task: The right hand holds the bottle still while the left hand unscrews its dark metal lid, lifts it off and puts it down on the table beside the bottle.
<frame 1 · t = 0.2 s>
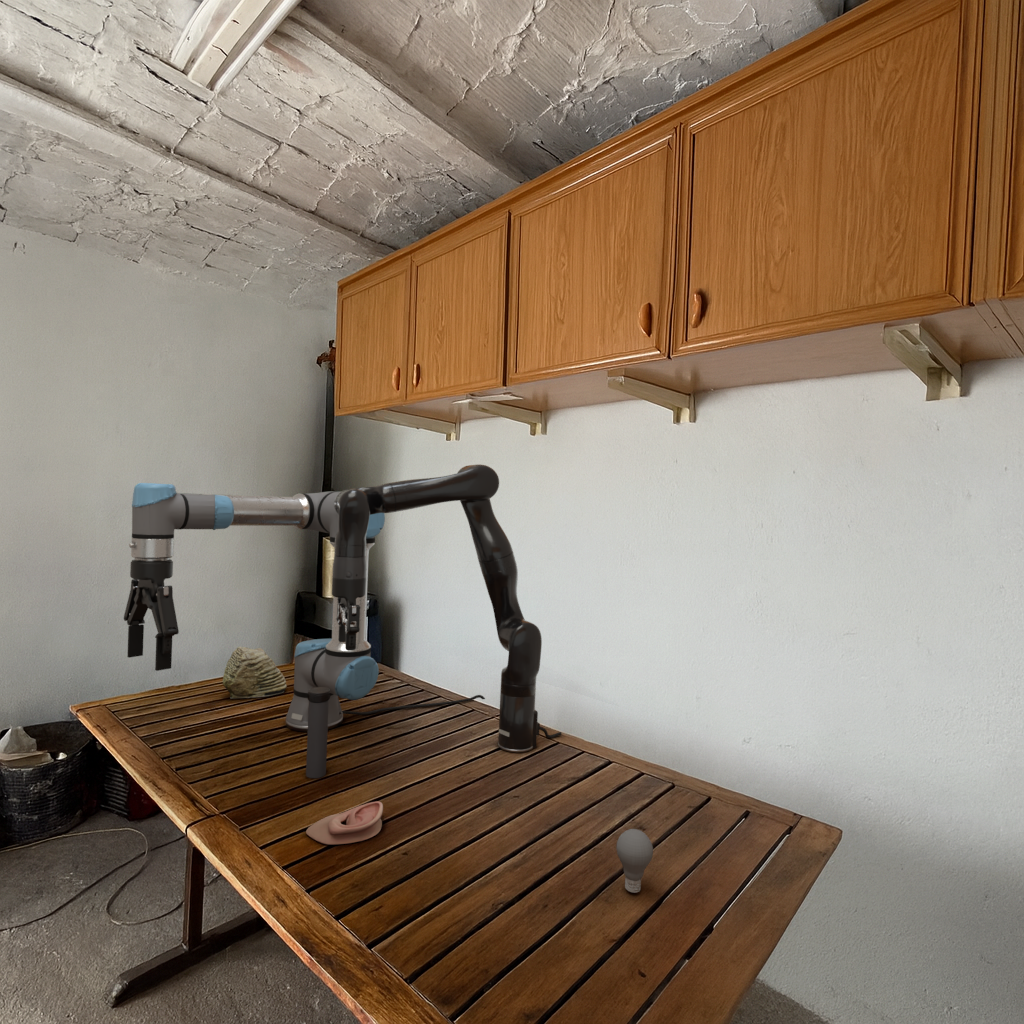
left hand: (148, 662, 129), 28 cm above the table, tool pointing down, fingers open, 13 cm apart
right hand: (346, 645, 146), 29 cm above the table, tool pointing down, fingers open, 8 cm apart
anatomical model: (344, 830, 121), on the table
bottle: (315, 774, 144), on the table
lid: (319, 691, 144), point 19 cm above the table, screwed on, not yet turned
fossil: (254, 694, 198), on the table
light bulb: (632, 891, 106), on the table
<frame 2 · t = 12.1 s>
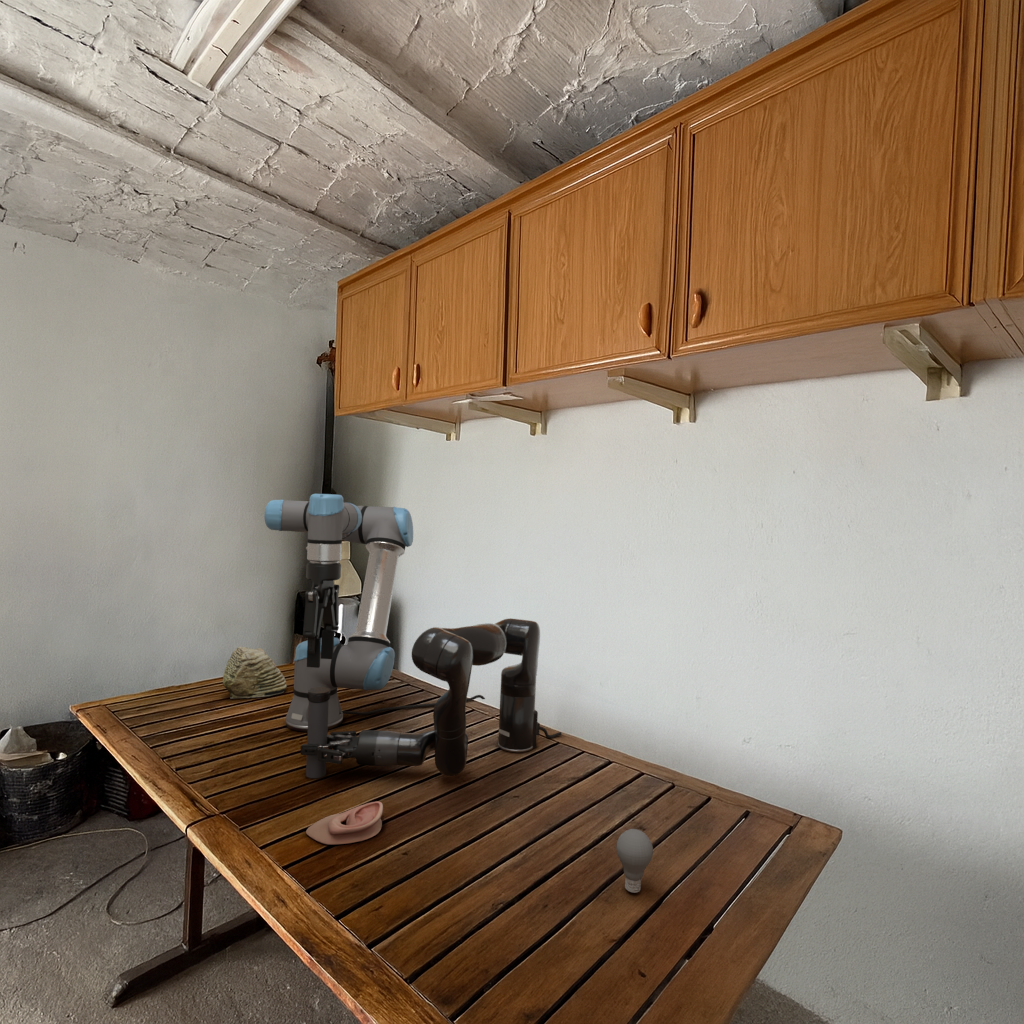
left hand: (320, 662, 144), 26 cm above the table, tool pointing down, fingers open, 7 cm apart
right hand: (305, 745, 144), 7 cm above the table, tool horizontal, fingers closed on bottle, 4 cm apart
bottle: (315, 774, 144), on the table, touching right hand
everything else where it was.
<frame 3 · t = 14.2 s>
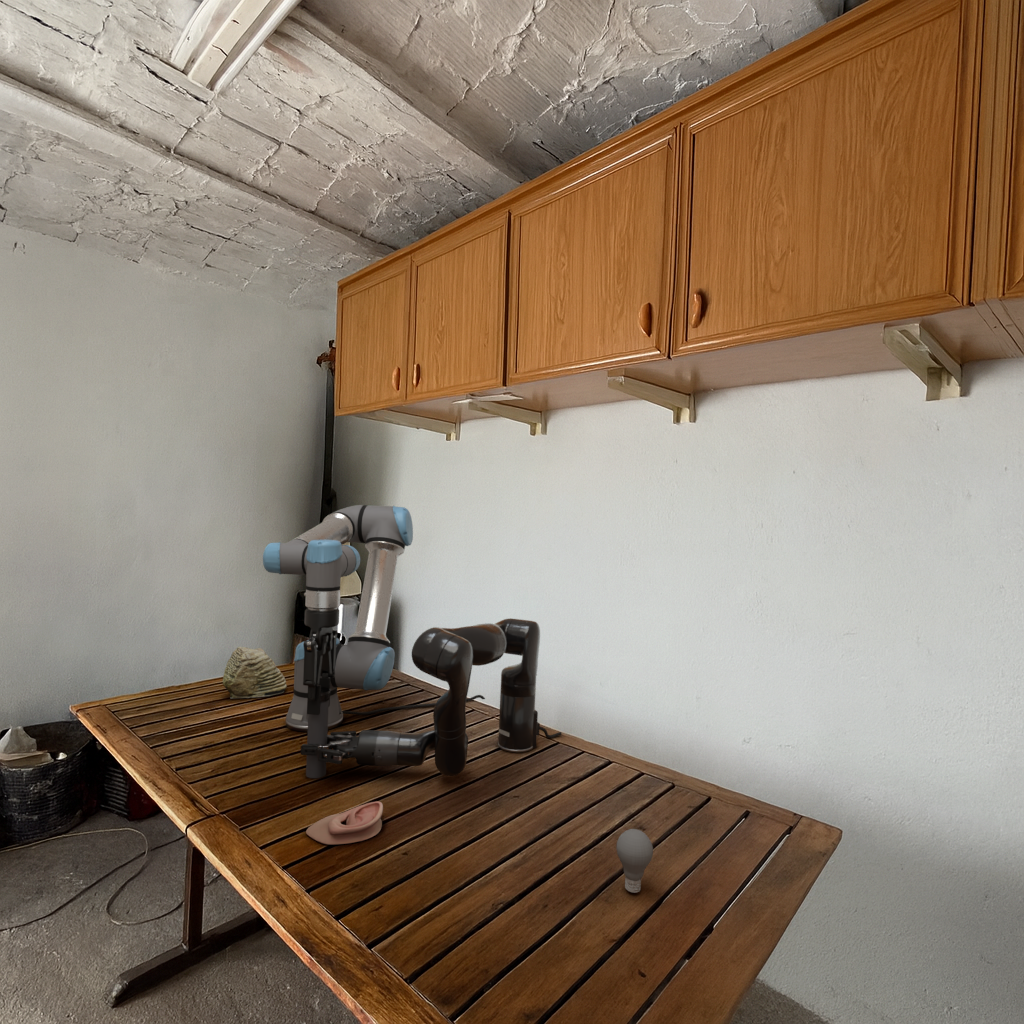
left hand: (318, 709, 144), 15 cm above the table, tool pointing down, fingers closed on lid, 5 cm apart
right hand: (305, 745, 144), 7 cm above the table, tool horizontal, fingers closed on bottle, 4 cm apart
bottle: (316, 774, 144), on the table, touching right hand
lid: (319, 691, 144), point 19 cm above the table, screwed on, not yet turned, touching left hand
everything else where it was.
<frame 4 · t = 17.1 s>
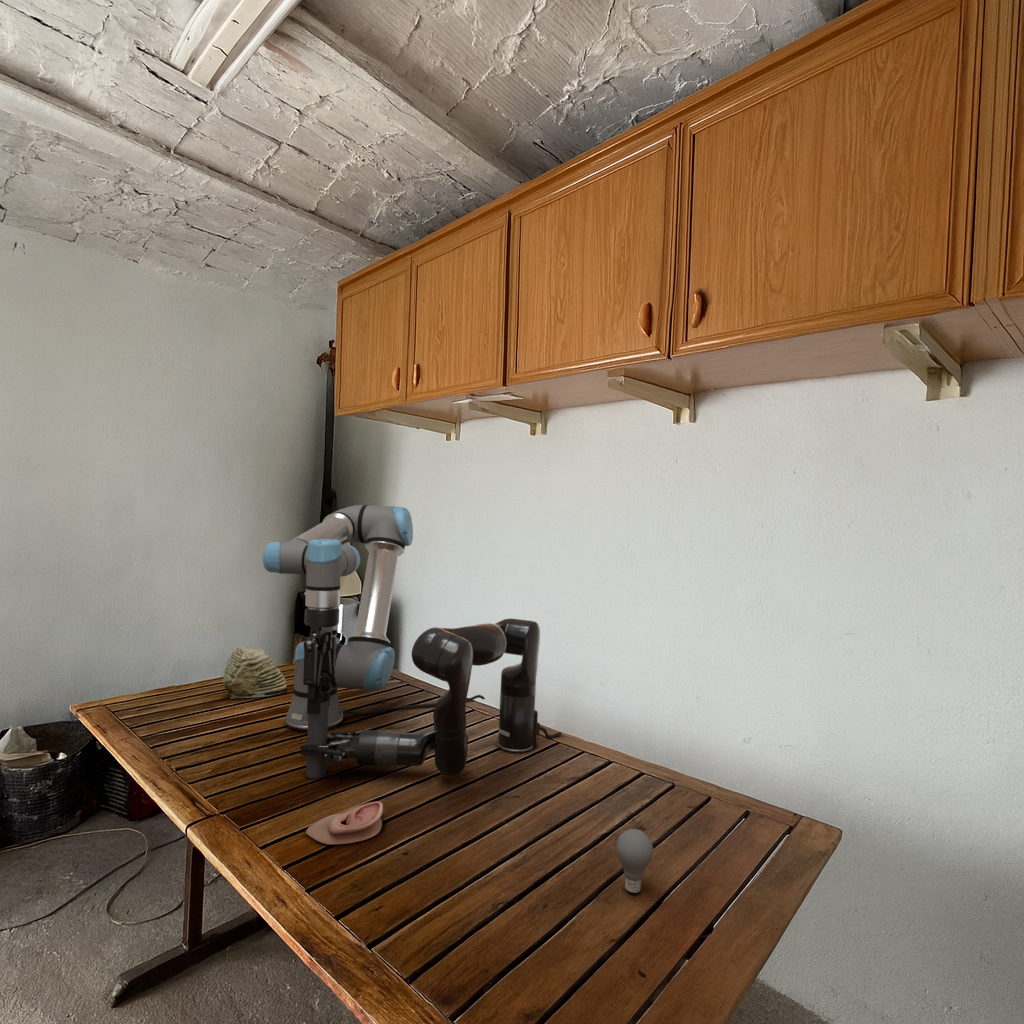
left hand: (318, 709, 144), 15 cm above the table, tool pointing down, fingers closed on lid, 5 cm apart
right hand: (305, 745, 144), 7 cm above the table, tool horizontal, fingers closed on bottle, 4 cm apart
bottle: (316, 774, 144), on the table, touching right hand
lid: (319, 691, 144), point 19 cm above the table, turned 82° so far, risen 0.1 cm, still on its thread, touching left hand
everything else where it was.
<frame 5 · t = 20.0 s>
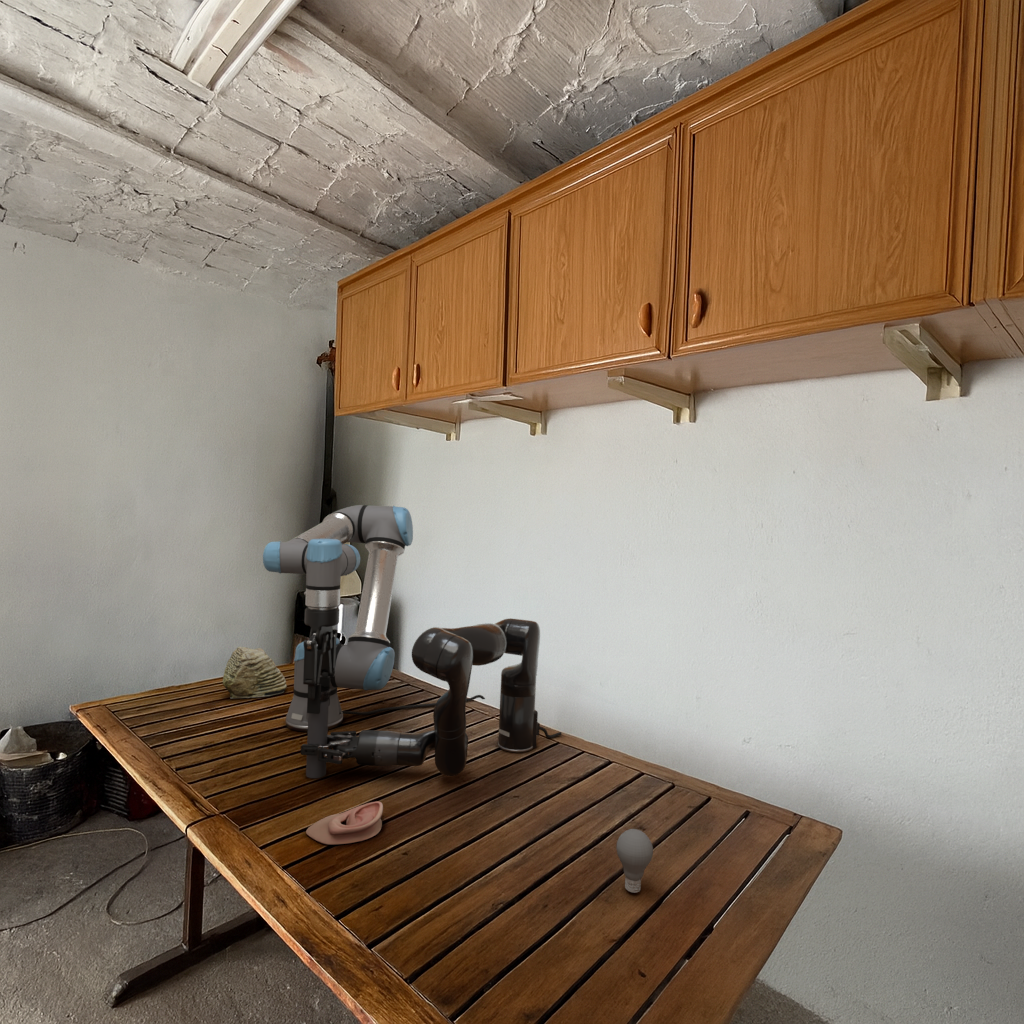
left hand: (318, 708, 144), 15 cm above the table, tool pointing down, fingers closed on lid, 5 cm apart
right hand: (305, 745, 144), 7 cm above the table, tool horizontal, fingers closed on bottle, 4 cm apart
bottle: (316, 774, 144), on the table, touching right hand
lid: (319, 690, 144), point 19 cm above the table, turned 165° so far, risen 0.2 cm, still on its thread, touching left hand
everything else where it was.
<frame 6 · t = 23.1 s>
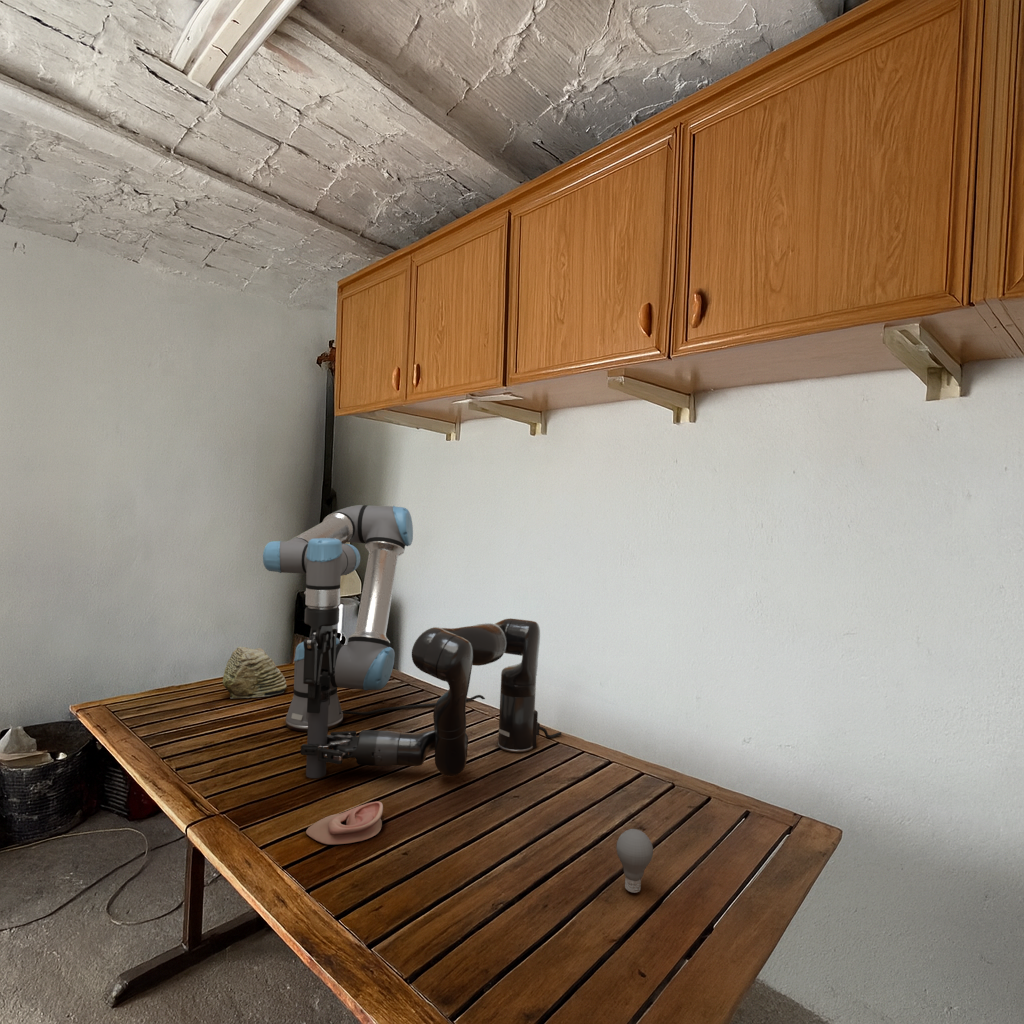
left hand: (318, 708, 144), 15 cm above the table, tool pointing down, fingers closed on lid, 5 cm apart
right hand: (305, 745, 144), 7 cm above the table, tool horizontal, fingers closed on bottle, 4 cm apart
bottle: (316, 774, 144), on the table, touching right hand
lid: (319, 690, 144), point 19 cm above the table, turned 247° so far, risen 0.3 cm, still on its thread, touching left hand
everything else where it was.
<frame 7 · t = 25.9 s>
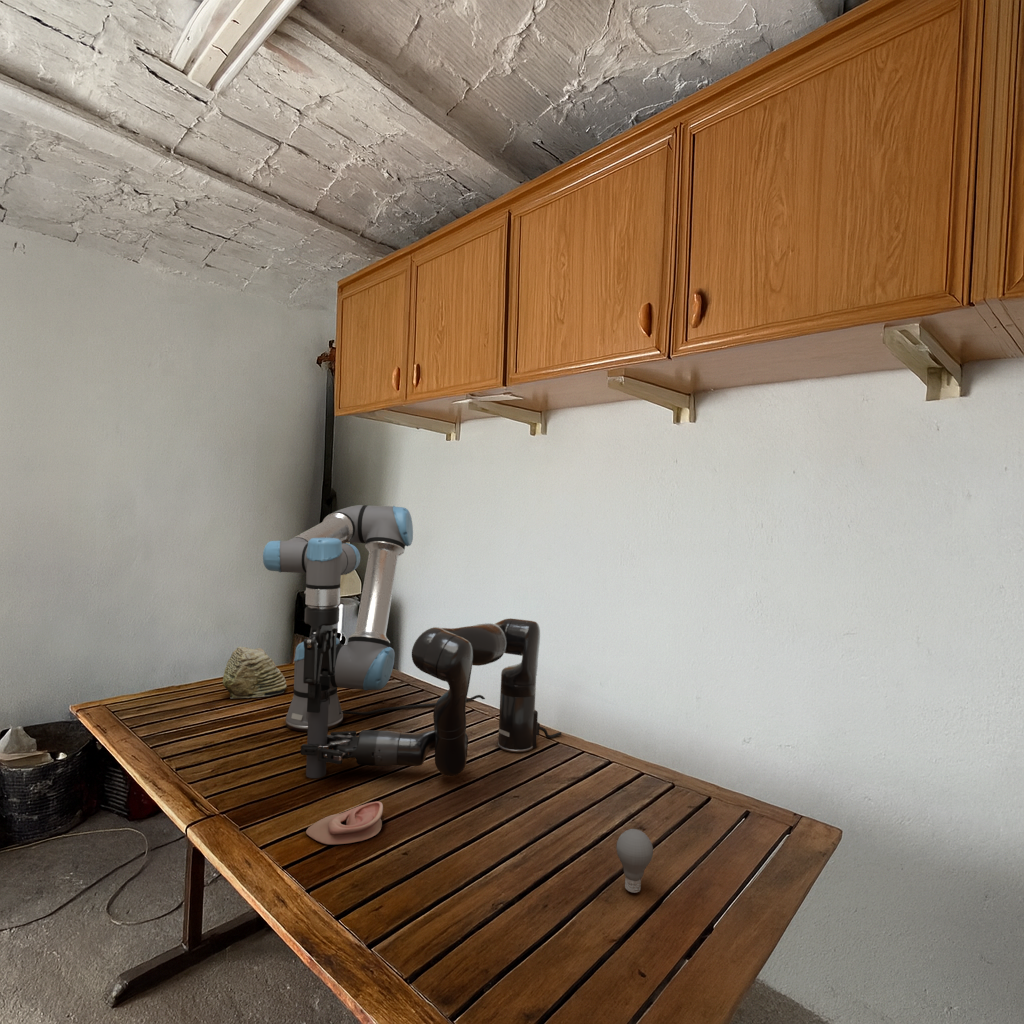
left hand: (318, 707, 144), 15 cm above the table, tool pointing down, fingers closed on lid, 5 cm apart
right hand: (305, 745, 144), 7 cm above the table, tool horizontal, fingers closed on bottle, 4 cm apart
bottle: (316, 774, 144), on the table, touching right hand
lid: (319, 689, 144), point 19 cm above the table, turned 330° so far, risen 0.5 cm, still on its thread, touching left hand
everything else where it was.
when the left hand's fingers open (0 cm above the table, at t = 36.4 s): lid drops 3 cm, point 2 cm above the table.
when the right hand's fingers open (7 cm above the table, at t = 37.0 s): bottle stays where it is, on the table.
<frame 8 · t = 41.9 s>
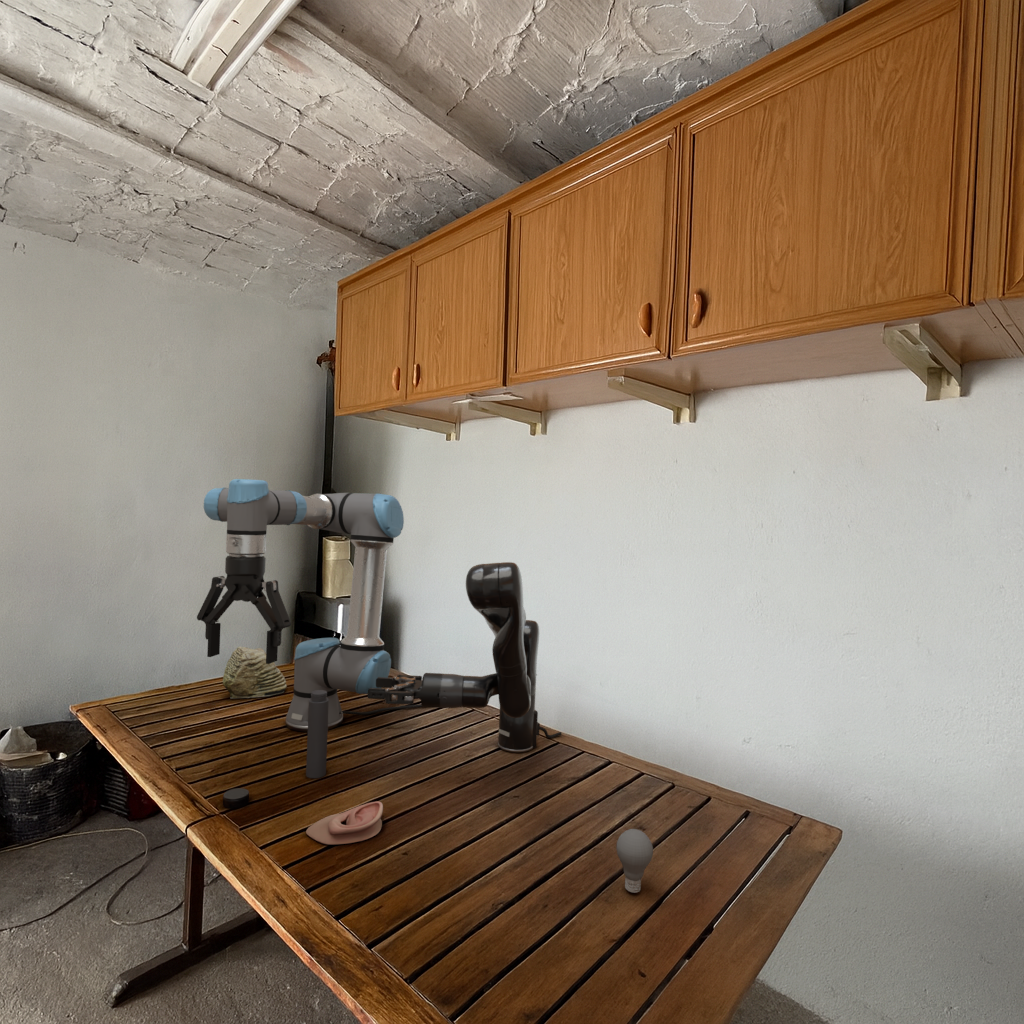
left hand: (242, 659, 129), 30 cm above the table, tool pointing down, fingers open, 13 cm apart
right hand: (372, 687, 144), 20 cm above the table, tool horizontal, fingers open, 8 cm apart
bottle: (316, 774, 144), on the table
lid: (236, 795, 129), point 2 cm above the table, off its thread
everything else where it was.
at the end: lid came off its thread; lid point 1.7 cm above the table; the left hand is holding nothing; the right hand is holding nothing; bottle tilted 0°; bottle moved 0.0 cm from its start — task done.
